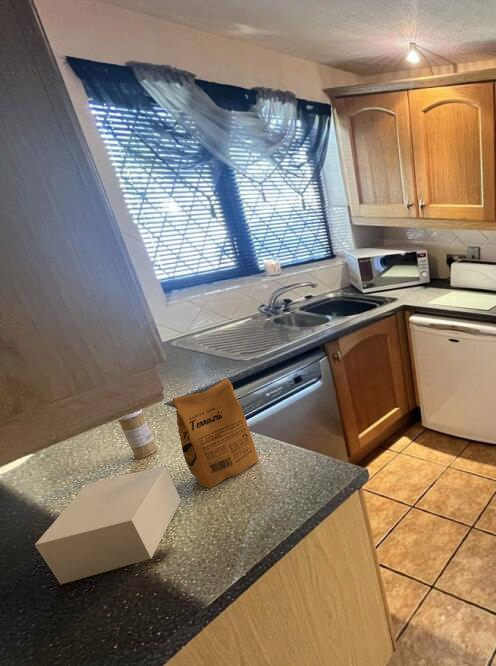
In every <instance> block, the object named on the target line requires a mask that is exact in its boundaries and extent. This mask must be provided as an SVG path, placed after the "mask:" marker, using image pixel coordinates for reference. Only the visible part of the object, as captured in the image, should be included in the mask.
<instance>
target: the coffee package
mask: <svg viewBox="0 0 496 666" xmlns="http://www.w3.org/2000/svg"><path fill="white" fill-rule="evenodd" d="M171 399H172V403H173V405H174V407H175V413H176V426H177V427H178V429H177V433H178V434H179V440H180V444H181V451H182V454H183V458H184V460H185V463H186V465H187V468H188V470H189V472H190V473H191V474H192V476H193V477H194V478H196V480H197V481H198V484H199V485H200V486H201V487H204V488H206V489H211V488H214V487H215V486H217V485H218V484H220V483H221V482H223V481H224V480H226V479H229V478H232V477H233V478H234V477H235V476H238V475H240V474H242V473H244V472H245V471H247V469H249V468H250V467H252V466H253V465H255V464H257V463H258V462H259V455H258V453H257V448H256V445H255V442H254V439H253V436H252V434H251V431H250V428H249V426H248V423H247V418H246V416H245V413H244V410H243V408H242V405H241V404H240V402H239V400H238V398H237V396H236V394H235V391H234V386H233V383H232V382H231V381H230V380H229V379H228V378H225V379H223V380H221V381H220V382H218V383H217V384H215V385H213V386H211V387H210V388H208V389H207V390H205V391H202V392H197V393H193V394H192V393H191V394H188V395H182V396H179V397H172V398H171ZM210 487H211V488H210Z"/></svg>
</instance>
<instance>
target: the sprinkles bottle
mask: <svg viewBox="0 0 496 666" xmlns="http://www.w3.org/2000/svg"><path fill="white" fill-rule="evenodd" d="M117 422H118V423H119V425H120V427H121V429H122V433H123V434H124V436H125V439H126V441H127V443H128V445H129V447H130V449H131V450H132V453H133V456H134V458H137V459H143V458H146V457H148V456H151V455H153V454H154V453H156V451H157V450H158V446H157V444H156V441H155V440H154V437H153V434H152V432H151V429H150V427H149V425H148V422H147V420H146V419H145V417H144V415H143V412H142V409H141V410H140V411H138V412H135V413H133V414H130V415H128V416H125V417H123V418H121V419H118V420H117Z"/></svg>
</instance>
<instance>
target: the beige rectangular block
mask: <svg viewBox="0 0 496 666" xmlns="http://www.w3.org/2000/svg"><path fill="white" fill-rule="evenodd" d="M158 467H159V468H158ZM158 467H153V468H154V469H153V468H149V469H150V470H149V469H145V471H144V470H140V471H141V472H140V471H136V473H135V472H131V473H132V474H130V473H126V474H127V475H126V474H123V475H118V476H114V477H110V478H104V479H101V480H95V481H91V482H87V483H86V484H85V485H84V486H83V487H82V488H81V490H80V491H78V493H77V495H76V496H75V497H74V498H73V499H72V500H71V502H70V503H69V504H68V505H67V506H66V508H65V509H64V510H63V511H62V512H61V513H60V514H59V516H58V517H57V518H56V519H55V520H54V522H52V524H51V525H50V526H49V527H48V528H47V530H46V531H45V532H44V533H42V535H41V536H40V538H39V539H38V540H37V541H36V542H35V544H34V546H35V548H36V549H37V551H38V553H39V554H40V556H41V557H42V559H43V560H44V561H45V563H46V565H47V566H48V568H49V570H51V572H52V573H53V575H54V577H55V578H56V580H57V582H58V583H59V584H60V585H64V584H68V583H71V582H74V581H77V580H81V579H86V578H88V577H91V576H95V575H98V574H99V575H100V574H102V573H106V572H109V571H114V570H117V569H121V568H123V567H127V566H130V565H133V564H138V563H141V562H144V561H148V560H152V558H153V556H154V555H155V553H156V550H157V549H158V546H159V545H160V543H161V541H162V539H163V537H164V535H165V533H166V532H167V529H168V527H169V525H170V523H171V521H172V519H173V517H174V516H175V514H176V512H177V510H178V508H179V506H180V504H181V502H182V500H181V497H180V495H178V494H179V492H178V490H177V488H175V487H176V485H175V483H174V481H173V478H172V476H171V474H170V471H169V469H168V467H167V466H166V465H163V467H162V466H158ZM168 471H169V472H168ZM171 478H172V479H171Z"/></svg>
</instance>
